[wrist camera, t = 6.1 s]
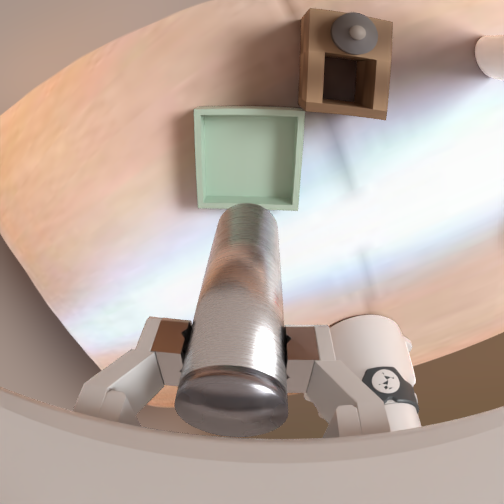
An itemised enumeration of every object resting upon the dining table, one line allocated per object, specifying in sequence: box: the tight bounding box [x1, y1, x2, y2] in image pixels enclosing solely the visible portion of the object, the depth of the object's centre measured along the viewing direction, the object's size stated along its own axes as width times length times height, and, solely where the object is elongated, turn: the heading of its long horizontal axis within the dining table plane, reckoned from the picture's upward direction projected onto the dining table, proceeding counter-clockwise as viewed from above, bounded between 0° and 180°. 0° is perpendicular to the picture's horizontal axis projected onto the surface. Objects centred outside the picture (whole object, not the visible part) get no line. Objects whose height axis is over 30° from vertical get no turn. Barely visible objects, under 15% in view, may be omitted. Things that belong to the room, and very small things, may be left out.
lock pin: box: [175, 203, 288, 437], centre depth 13 cm, size 3×3×11 cm
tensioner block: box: [298, 8, 393, 120], centre depth 24 cm, size 9×7×8 cm
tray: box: [194, 106, 305, 211], centre depth 31 cm, size 10×10×2 cm
